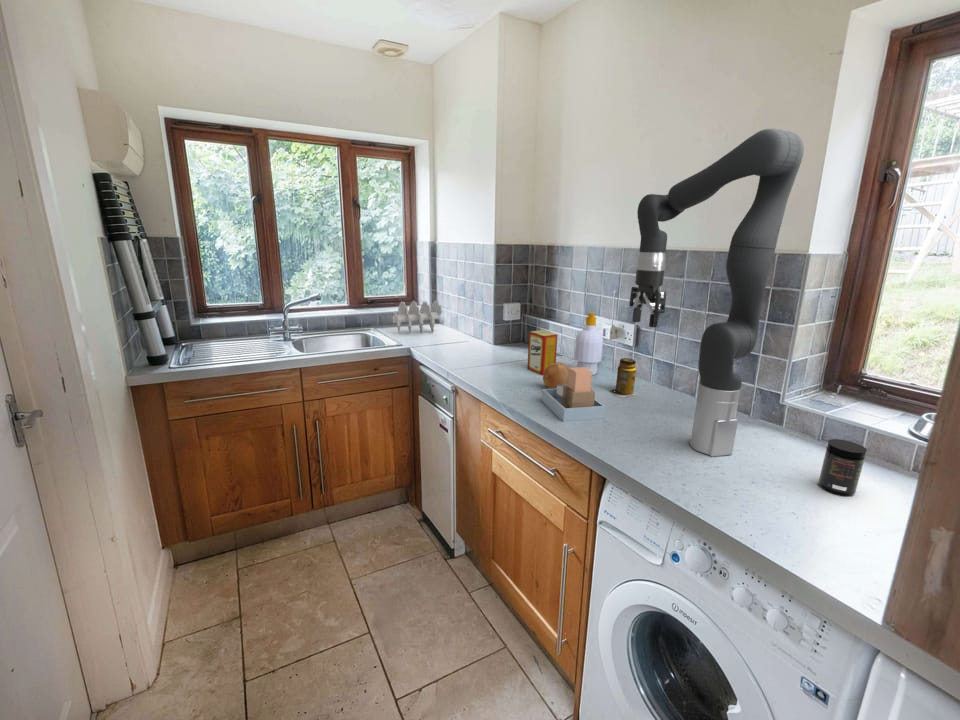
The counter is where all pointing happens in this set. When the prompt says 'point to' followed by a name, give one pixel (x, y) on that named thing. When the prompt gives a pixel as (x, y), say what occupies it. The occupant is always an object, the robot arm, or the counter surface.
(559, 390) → the grey tin
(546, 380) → the onion
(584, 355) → the soap bottle
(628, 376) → the condiment
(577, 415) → the tote
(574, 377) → the peach rectangular block
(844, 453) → the supplement container
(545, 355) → the baking soda box
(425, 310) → the grey lumpy piece
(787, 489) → the counter surface
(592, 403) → the walnut block
